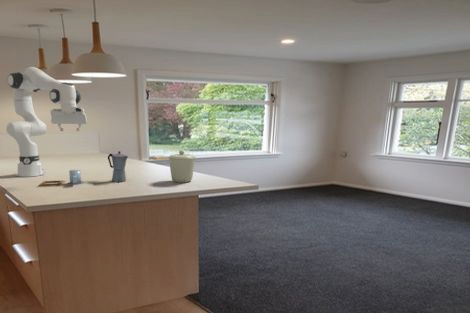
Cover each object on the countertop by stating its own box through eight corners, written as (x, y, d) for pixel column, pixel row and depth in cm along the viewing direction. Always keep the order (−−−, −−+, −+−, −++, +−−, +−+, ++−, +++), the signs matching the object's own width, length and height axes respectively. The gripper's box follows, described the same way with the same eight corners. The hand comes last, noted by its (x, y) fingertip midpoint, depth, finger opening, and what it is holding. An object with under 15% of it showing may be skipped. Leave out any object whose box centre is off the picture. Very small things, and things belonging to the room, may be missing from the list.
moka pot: (125, 182, 212) (124, 152, 210) (103, 181, 215) (102, 151, 213) (132, 180, 222) (131, 150, 219) (112, 179, 225) (111, 150, 222)
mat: (69, 183, 210) (68, 181, 210) (85, 182, 212) (85, 180, 212) (65, 186, 200) (65, 184, 200) (83, 185, 203) (83, 184, 203)
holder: (43, 183, 209) (43, 180, 209) (66, 182, 213) (65, 179, 213) (35, 188, 193) (35, 185, 193) (60, 187, 197) (59, 184, 196)
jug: (70, 182, 207) (69, 170, 206) (81, 181, 210) (80, 169, 209) (69, 186, 195) (68, 173, 194) (81, 185, 198) (80, 172, 197)
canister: (182, 177, 232) (181, 148, 230) (201, 180, 222) (201, 150, 219) (162, 181, 217) (162, 150, 215) (182, 185, 207) (181, 152, 204)
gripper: (49, 108, 199) (50, 131, 201) (85, 109, 205) (86, 131, 206) (51, 108, 205) (52, 130, 207) (87, 109, 211) (88, 130, 212)
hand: (70, 131), depth 207 cm, fingers open, 8 cm apart
